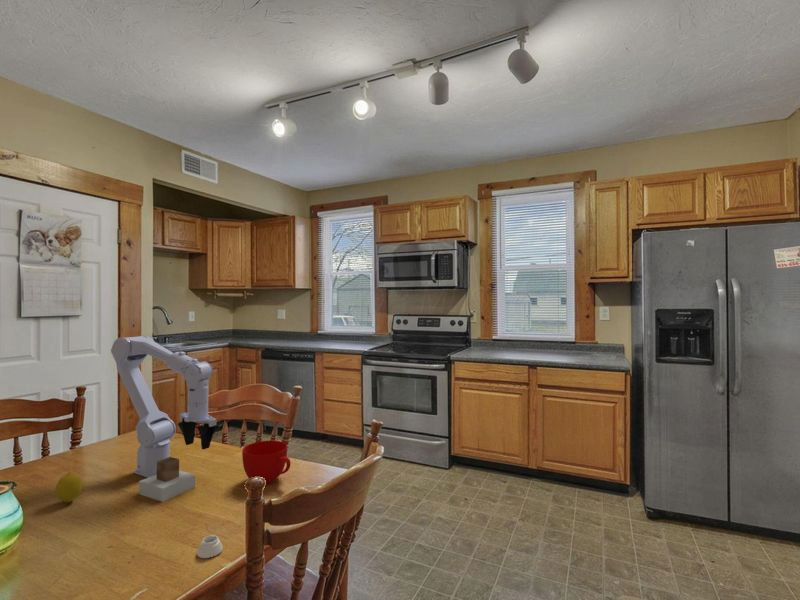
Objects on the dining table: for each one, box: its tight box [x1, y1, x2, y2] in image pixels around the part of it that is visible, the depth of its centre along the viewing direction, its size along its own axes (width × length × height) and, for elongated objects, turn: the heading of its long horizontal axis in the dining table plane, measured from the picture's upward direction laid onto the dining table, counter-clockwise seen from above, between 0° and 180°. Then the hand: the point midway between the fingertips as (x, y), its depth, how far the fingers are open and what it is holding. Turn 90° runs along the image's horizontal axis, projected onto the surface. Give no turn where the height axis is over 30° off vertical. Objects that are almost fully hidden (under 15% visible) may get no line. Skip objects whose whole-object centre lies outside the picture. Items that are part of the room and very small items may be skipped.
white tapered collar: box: [196, 534, 224, 559], centre depth 89 cm, size 5×3×5 cm
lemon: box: [55, 471, 83, 504], centre depth 110 cm, size 6×6×8 cm
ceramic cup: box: [241, 440, 292, 486], centre depth 124 cm, size 13×17×10 cm
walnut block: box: [157, 456, 180, 482], centre depth 118 cm, size 4×4×5 cm
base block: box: [138, 469, 196, 503], centre depth 118 cm, size 10×10×4 cm
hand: (197, 446), depth 127 cm, fingers open, 7 cm apart
